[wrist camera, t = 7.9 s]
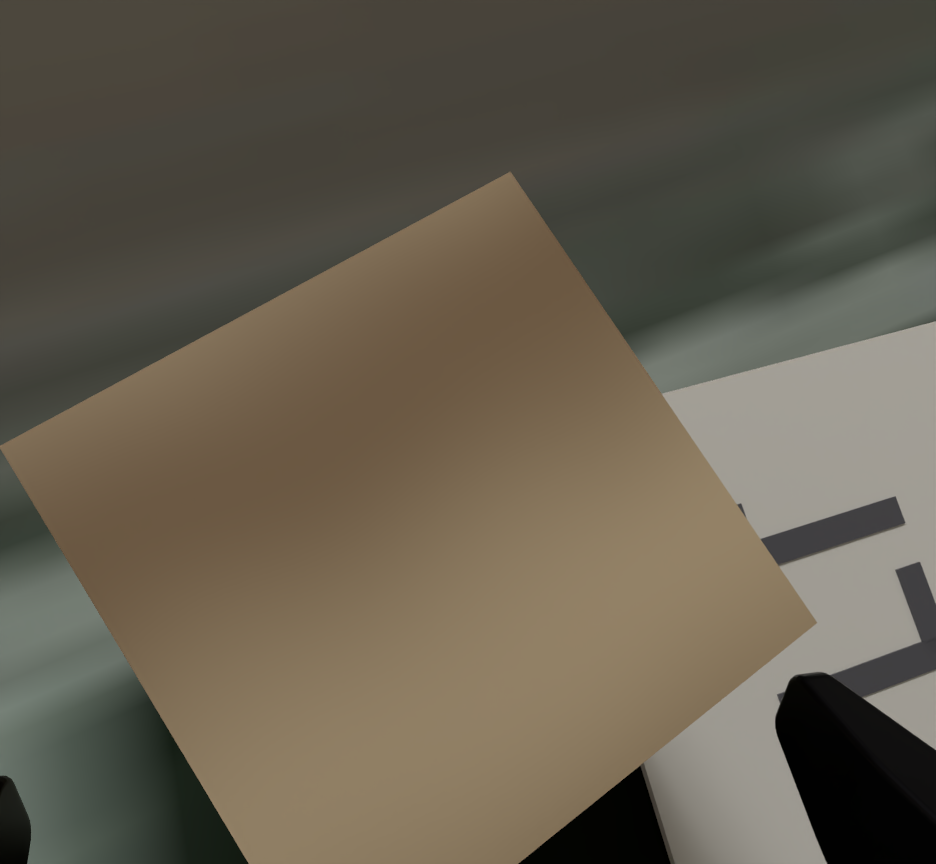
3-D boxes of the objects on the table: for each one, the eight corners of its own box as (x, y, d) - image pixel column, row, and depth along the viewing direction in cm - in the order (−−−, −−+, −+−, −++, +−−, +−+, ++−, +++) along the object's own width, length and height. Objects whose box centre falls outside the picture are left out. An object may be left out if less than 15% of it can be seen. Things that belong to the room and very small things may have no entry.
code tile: (1118, 763, 20) (1131, 766, 20) (696, 947, 17) (703, 953, 17) (942, 321, 22) (952, 316, 21) (536, 428, 19) (540, 425, 19)
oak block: (559, 607, 18) (817, 622, 9) (334, 769, 17) (336, 1010, 7) (418, 390, 19) (510, 171, 9) (186, 529, 17) (-2, 445, 8)
